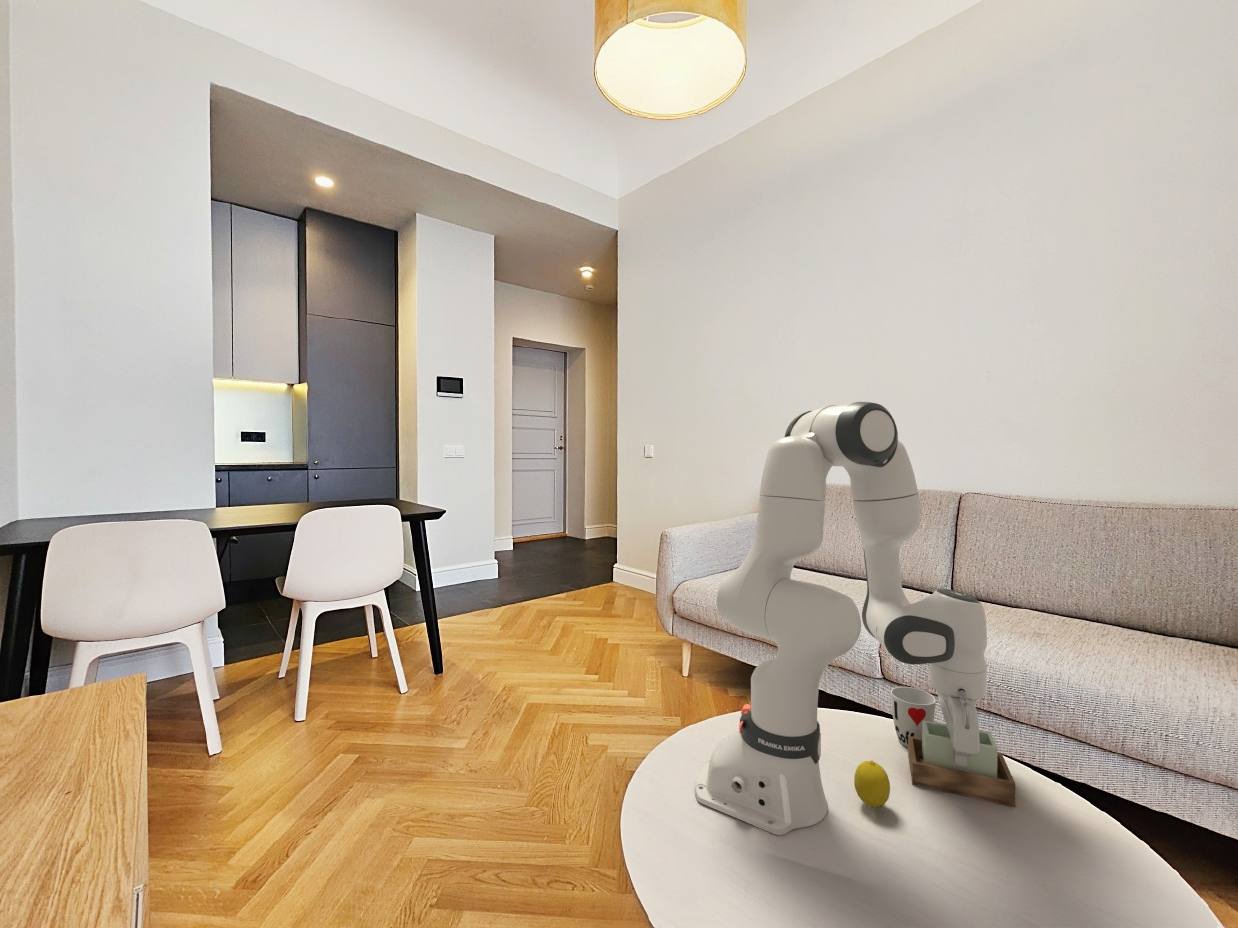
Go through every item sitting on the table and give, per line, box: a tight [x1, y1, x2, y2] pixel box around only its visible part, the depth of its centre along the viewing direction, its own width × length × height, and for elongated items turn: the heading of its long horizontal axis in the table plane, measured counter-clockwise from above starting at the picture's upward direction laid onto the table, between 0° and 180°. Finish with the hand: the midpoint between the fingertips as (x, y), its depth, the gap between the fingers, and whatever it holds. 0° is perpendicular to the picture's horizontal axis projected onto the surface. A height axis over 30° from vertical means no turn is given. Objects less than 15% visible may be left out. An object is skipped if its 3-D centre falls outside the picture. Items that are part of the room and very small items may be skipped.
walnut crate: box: [907, 736, 1017, 808], centre depth 98 cm, size 15×10×4 cm, turn 65°
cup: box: [890, 686, 937, 748], centre depth 110 cm, size 8×8×10 cm
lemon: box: [853, 760, 891, 809], centre depth 91 cm, size 6×6×8 cm
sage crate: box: [922, 720, 999, 778], centre depth 98 cm, size 11×6×6 cm, turn 66°
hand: (956, 752), depth 98 cm, fingers closed on sage crate, 5 cm apart
